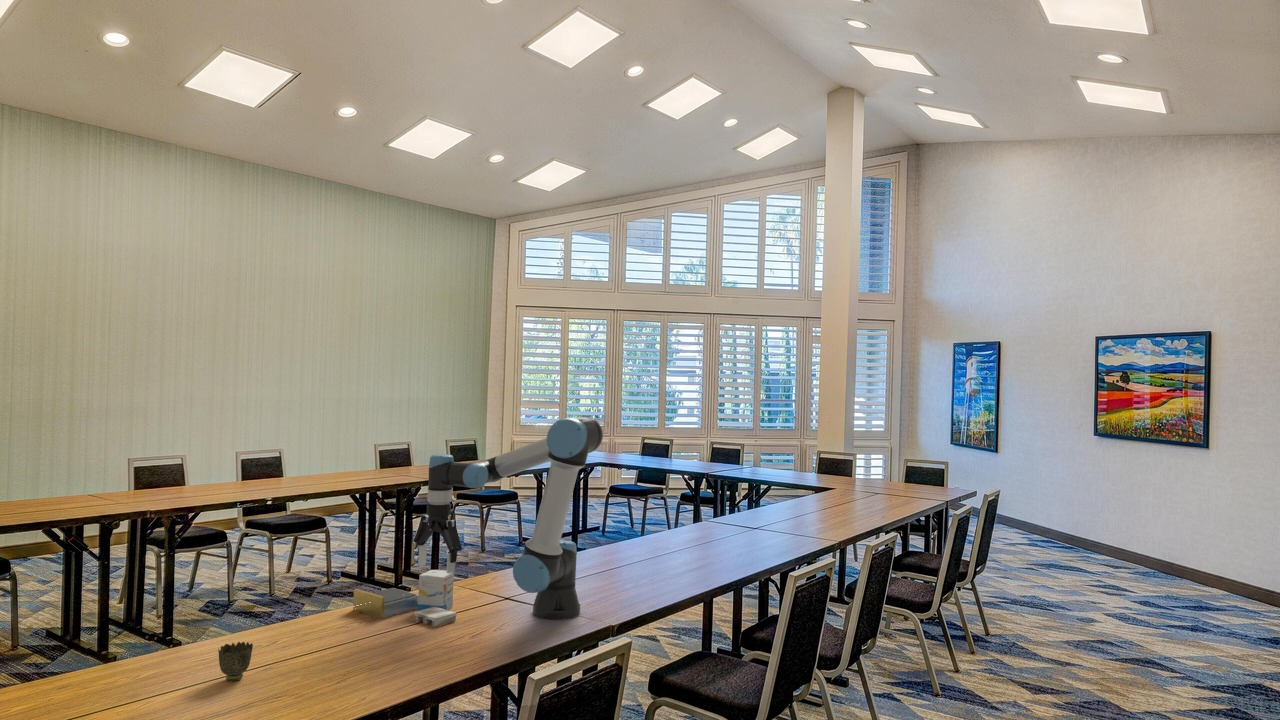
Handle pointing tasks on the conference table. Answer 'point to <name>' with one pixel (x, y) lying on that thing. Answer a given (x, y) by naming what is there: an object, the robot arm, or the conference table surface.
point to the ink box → (435, 590)
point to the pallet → (435, 616)
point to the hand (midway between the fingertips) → (436, 569)
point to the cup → (235, 660)
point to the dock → (385, 602)
